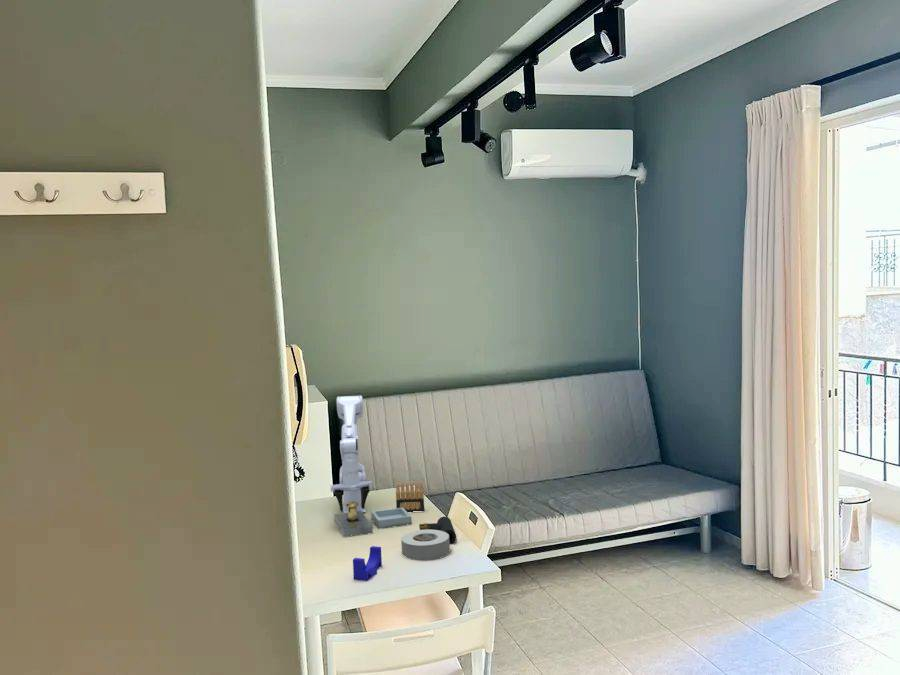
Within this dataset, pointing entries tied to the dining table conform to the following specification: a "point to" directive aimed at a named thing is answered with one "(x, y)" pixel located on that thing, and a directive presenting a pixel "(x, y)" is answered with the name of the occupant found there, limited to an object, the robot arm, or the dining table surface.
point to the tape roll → (425, 544)
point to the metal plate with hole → (353, 524)
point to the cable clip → (367, 565)
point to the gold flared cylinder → (352, 511)
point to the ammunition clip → (410, 497)
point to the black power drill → (441, 527)
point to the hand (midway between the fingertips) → (352, 509)
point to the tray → (391, 517)
